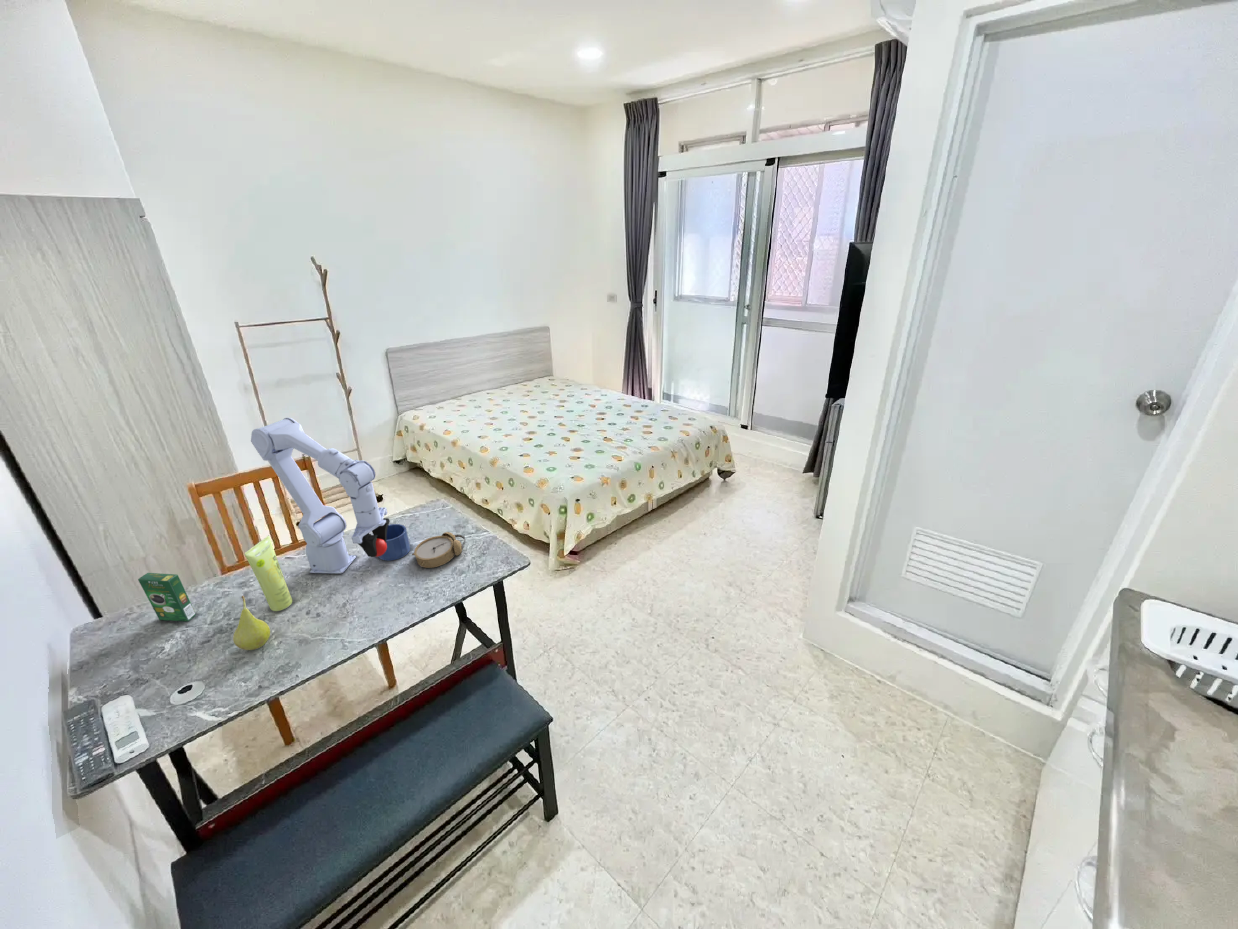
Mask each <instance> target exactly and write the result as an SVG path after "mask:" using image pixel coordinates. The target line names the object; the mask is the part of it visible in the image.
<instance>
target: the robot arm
mask: <svg viewBox="0 0 1238 929" xmlns="http://www.w3.org/2000/svg"><path fill="white" fill-rule="evenodd" d="M250 435H251V436H250V442H251V444H252V445H253V447H254V449H255V451H256V452H257V453H258V455H259V456H260V457H261V459H262V460H263V461H264V462H265V461H266V462H268V464H269V465H270V466H271V469H272V470H273V471H274V473H275V474H276V475H277V477H278V479H279V480H280V482H281V483H282V485H283V486H284V488H285V489H286V491H287V492H288V494H289V495H290V498H292V500H293V501H294V502H295V504H296V506H297V507H298V509H299V510H300V512H301V513H302V517H301V518H300V521H299V523H298V528H299V530H300V532H301V535H302V538H303V540H304V542H305V543H306V545H305V555H306V558H307V561H308V564H309V566H310V569H311V570H309V574H338V575H339V574H344V572H345V571H346V570H347V569H348V568H349V566H350V565H351V564H352V563H354V561H355V560H356V558H357V555H350V554H349V552H348V548H347V546H346V542H345V539H344V535H345V530H346V529H347V525H348V524H347V521H346V519H345V517H344V516H343V515H342V514H341V513H339V512H338V511H337V509H336V507H334V506H330V505H324V504H323V503H322V501H321V500H320V498H319V496H318V495H317V493H316V491H315V490H314V488H313V487H312V485H311V484H310V482H309V481H308V479H307V478H306V477H305V475H304V473H303V472H302V470H301V468H300V467H299V465H298V464H297V463H296V461H295V459H294V458H293V451H294V450H297V451H298V452H301V453H302V454H304V455H306V456H308V457H311V458H312V459H314V460H316V461H317V465H318V467H319V468H320V469H322V470H324V471H325V472H327V473H329V474H330V475H332V476H334V477H335V478H336V479H338V482H339V484H340V486H342V488H343V489H344V490H345V493H346V495H347V496H348V497H349V499H350V502H351V506H352V509H353V513H354V517H355V520H356V526H355V529H354V532H353V534H352V536H351V537H350V538H351V541H352V544H357V545H359V547H360V548H361V549H362V550H363V551H364V552H365V554H366V556H367V557H369V558H377V557H376V556H377V549H376V538H380V539H383V540H384V541H385V542H386V538H387V528H388V525H390V518H388V517H385V516H387V515H388V508H387V507H385V506H384V507H383V506H382V507H379V504H378V501H377V496H376V493H375V488H374V483H373V482H372V481H374V480H375V479H376V471H375V469H374V467H373V466H372V465H371V464H370V463H369V462H367V460H358V459H353V458H351V457H349V456H348V455H346V454H345V453H343V452H342V451H339V450H338V449H336V448H334V447H333V448H326V447H325V446H323V445H322V444H320V443H319V442H318V441H316V440H315V439H313V438H312V437H310V435H308V434H307V433H305V431H304V429H303V426H302V424H301V423H300V422H297V420H295V419H294V418H292V417H284V418H283V419H281V420H278V421H275V422H272V423H270V424H267V425H264V426H262V427H257V428H254V429H253V430H252V431H251V434H250ZM371 532H372V534H371Z"/></svg>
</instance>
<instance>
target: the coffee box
mask: <svg viewBox="0 0 1238 929" xmlns="http://www.w3.org/2000/svg"><path fill="white" fill-rule="evenodd" d="M137 580H138V583H139V585H140V586H141V589H142V590H143V592H144V594H145V596H146V597H147V599H148V601H149V603H150V605H151V607H152V609H153V611H154V613H155V615H156V616H157V619H158V620H159V621H164V622H167V621H169V622H171V621H172V622H187V623H189V622H190V621H191V620H192V619H194V618H195V617H196V616H197V613H196V611H195V608H194V607H193V605H192V602H191V599H190V597H189V596H188V594H187V591H186V589H185V587H184V584H183V583H182V581H181V578H180V576H179V574H178V573H174V574H173V573H158V572H146V573H145V574H143V575H142V576H140V577H139V578H138V579H137Z"/></svg>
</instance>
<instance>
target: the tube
mask: <svg viewBox="0 0 1238 929" xmlns="http://www.w3.org/2000/svg"><path fill="white" fill-rule="evenodd" d="M244 557H245V559H246V560H247V562H248V564H249V566H250V568H251V570H252V572H253V574H254V576H255V578H256V580H257V582H258V584H259V587H260V589H261V591H262V593H263V595H264V597H265V600H266V602H267V604H268V607H269V609H270V610H271V611H272V612H280V611H283V610H285V609H288V608H289V607H290V606H291V605H292V604H293V597H292V595H291V593H290V589H289V587H288V585H287V582H286V580H285V579H286V578H285V577H284V574H283V571H282V568H281V566H280V563H279V561H278V557H277V555H276V551H275V549H274V545H273V543H272V540H271V537H270V535H269V534H268V535H266V537H264V538H263V539H261V540H260V541H259V542H257V543H256V544H255V545H253V546H252V547H251V548H249V549H248V550H246V551H245V552H244Z"/></svg>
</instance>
